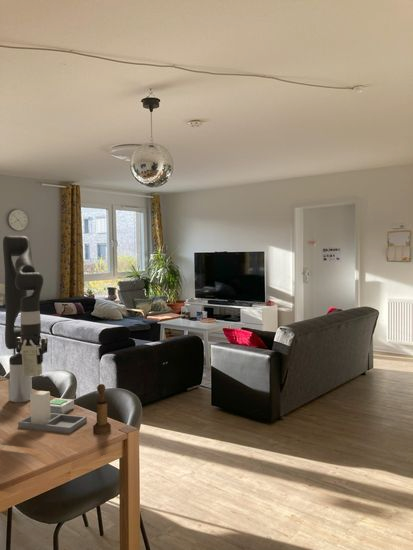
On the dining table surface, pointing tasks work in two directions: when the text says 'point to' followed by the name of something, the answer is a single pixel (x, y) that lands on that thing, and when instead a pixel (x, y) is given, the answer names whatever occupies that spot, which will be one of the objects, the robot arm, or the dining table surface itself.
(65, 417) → the two-section gray tray
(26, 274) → the robot arm
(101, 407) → the brown chess piece
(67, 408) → the button housing
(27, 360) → the skincare box
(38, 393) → the block
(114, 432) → the dining table surface
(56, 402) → the button
